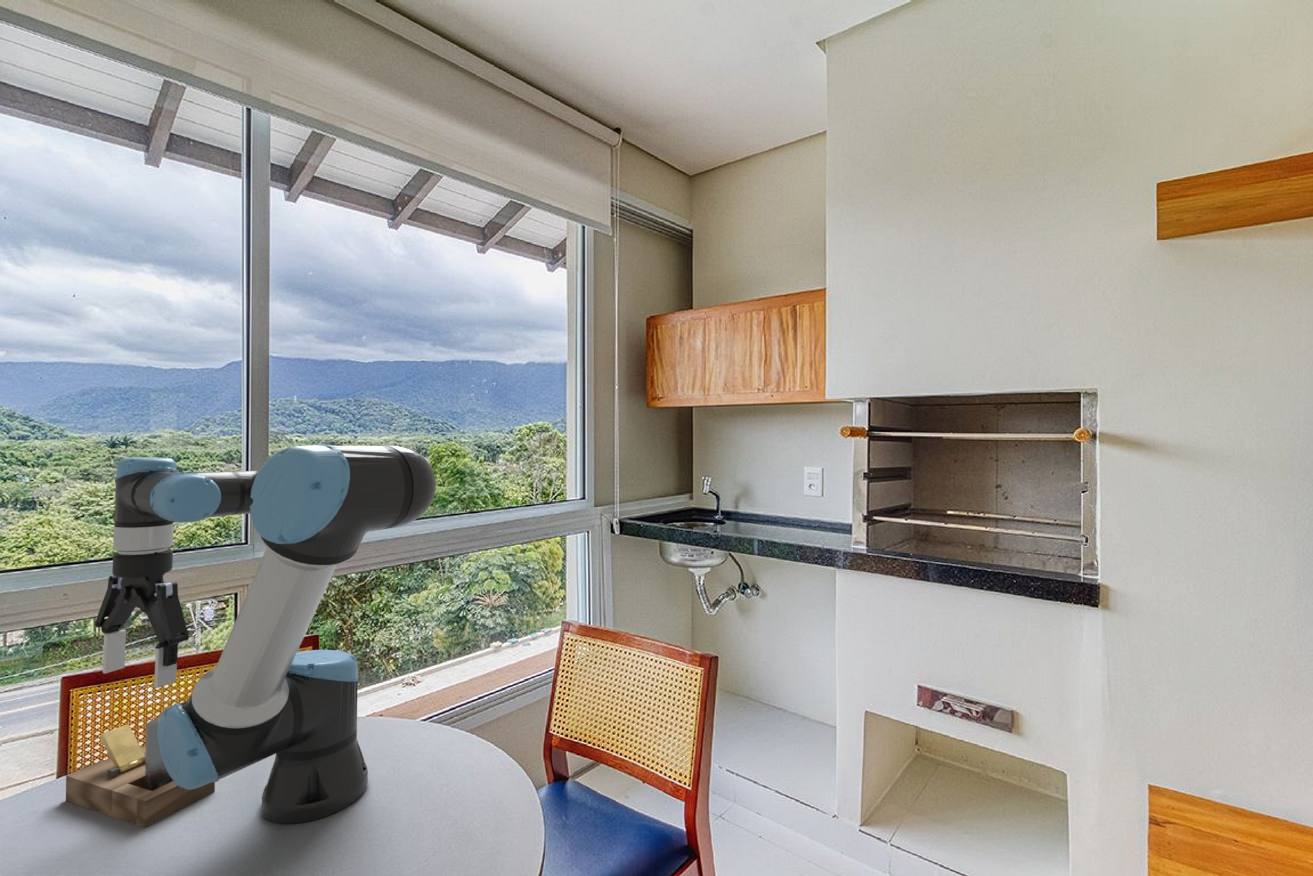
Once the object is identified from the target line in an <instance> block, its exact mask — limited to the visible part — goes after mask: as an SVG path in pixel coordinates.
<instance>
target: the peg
mask: <svg viewBox="0 0 1313 876" xmlns="http://www.w3.org/2000/svg"><path fill="white" fill-rule="evenodd" d="M158 721H159V717H157V718H154V719H152V720H150V721H148V722H147V723H146V728H145V748H146V761H145V789H147V790H150V791H154V790H156V789H158V788H160V787H162V786H164V785H166V784H168V783H170V782H172V781H173V780H172V778H171V777H170V775H169V774H168V772H167V770H166V767H165V765H164V762H163V760H162V757H161V753H160V748H159V743H158V733H157V730H158Z"/></svg>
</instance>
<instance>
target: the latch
mask: <svg viewBox="0 0 1313 876" xmlns="http://www.w3.org/2000/svg"><path fill="white" fill-rule="evenodd" d="M99 738H100V740H101V742H102V744H103V746H104V749H105V750H106V751H107V754H108V757H109V758H111V760H112V762H113V764H114V766H115V768H118V769H119V770H118V773H119V774H120V773H122V772H125V771H127V770H129V769H131V768H134V767H136V766H138V765H141V764H143V763H145V761H146V757H145V755H144V753H143V751H142V749H141V747H142V746H140V744H139V741H138V739H137V738H136V735H135V734H134V732H133V730H132V728H131V726H130V724H129V723H128V724H125V725H122V726H119V727H117V728H114V729H111V730H109V731H106V732H104V733H102V734H101V735H100V736H99Z"/></svg>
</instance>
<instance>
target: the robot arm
mask: <svg viewBox="0 0 1313 876" xmlns="http://www.w3.org/2000/svg"><path fill="white" fill-rule="evenodd" d="M115 474H116V475H115V477H114V483H115V487H114V488H115V492H114V493H115V495H114V496H115V497H114V524H113V525H114V526H113V539H112V541H113V542H112V543H113V544H112V550H114V551H116V552H115V553H114V554H113V555H112V570H111V571H112V572H111V573H112V575H110V576H108V581H107V589H106V592H105V594H104V597H103V600H102V602H101V605H100V608H99V611H98V613H97V617H96V619H95V622H94V627H96V628H100V630H101V632H102V633H103V634H104V635H103V651H102V652H103V653H102V654H103V656H102V657H103V659H102V674H109V673H112V672H115V671H118V670H122V669H125V668H126V641H127V630H126V629H125V628H128V626H127V624H126V623H127V621H128V620H129V618H130V617H131V614H132V613H134V610H135V609H136V608H137V609H139V610H140V612H141V613H144V614H146V616H147V619H148V621H149V623H150V625H151V628H152V630H153V633H154V635H155V637H156V639H157V641H158V643H157V644H156V645H155V657H154V658H155V659H154V660H155V661H154V685H153V687H154V688H156V689H159V688H161V687H165V686H167V685H170V684H173V683H177V671H178V669H177V668H178V659H179V658H178V656H179V655H178V653H179V644H180V643H182V642H186V641H188V640H189V638H190V635H189V632H188V627H187V624H186V620H185V617H184V612H183V609H182V606H181V601H180V598H179V587H178V582H177V581H171V582H165V581H164V575H165V574H166V573H169V572H171V571H172V569H173V564H174V563H173V561H174V558H173V557H174V550H172V548H170V547H172V546H173V545H174V532H175V530H176V528H175V527H174V523H178V524H179V523H181V524H182V523H197V522H200V521H203V520H205V519H207V518H216V517H217V518H218V517H226V516H227V517H228V516H229V517H230V516H235V515H248V514H249V515H250V517H251V521H252V525H253V527H254V529H255V530H256V532H257V533H258V534H259V535H258V536H259V539H260V542H262V544H263V546H264V547H265V550H264V553H263V555H262V557H261V559H260V562H259V564H258V567H257V569H256V572H255V574H254V577H253V579H252V581H251V583H250V586H249V588H248V590H247V593H246V594H245V598H244V600H243V603H242V605H241V607H240V610H239V612H238V614H237V616H236V619H235V620H234V621H235V622H234V624H233V626H232V629H231V631H230V634H229V636H228V639H227V641H226V642H225V645H224V648H223V650H222V651H221V655H220V657H219V660H218V662H217V664H216V667H213V668H211V669H210V670H208V671H207V672H205V673H204V674H203V675H202V676H201V677H200V678H198V680H197V682H196V683H195V685H194V687H193V688H192V691H191V694H190V696H189V699H187V700H186V701H183V702H176V703H174V704H173V705H171V706H169V707H167V708H165V709H163V711H162V712H161V713H160V716H159V717H158V718H159V721H158V730H157V733H158V743H159V748H160V753H161V757H162V760H163V762H164V765H165V767H166V770H167V772H168V774H169V775H170V777H171V778H172V780H173V781H174V782H175V783H176V784H177V785H178V786H180V787H181V788H185V789H189V790H191V789H196V788H199V787H201V786H204V785H206V784H209V783H211V782H215V783H217V782H219V780H221V779H223V778H225V777H228V776H230V775H232V774H235V773H237V772H239V771H241V770H244V769H246V768H248V767H250V766H251V765H252V766H253V765H254V764H256V763H258V762H260V761H263V760H266V759H267V758H269V757H271V756H273V755H275V757H274V761H273V765H272V767H271V769H270V774H269V777H268V780H267V783H266V785H265V787H264V789H263V792H262V795H261V813H262V816H263V817H264V818H266V820H268V821H271V822H273V823H279V824H297V823H299V824H300V823H307V822H311V821H315V820H318V819H321V818H324V817H329V816H330V815H333V814H335V813H337V812H339V811H341V810H344V809H345V808H347V807H348V806H350V805H351V804H353V803H354V802H356V801H357V800H358V799H359V798H361V796H362V795H363V794H364V792H365V791H366V789H367V788H368V783H369V779H368V778H369V773H368V772H369V771H368V766H367V764H366V761H365V758H364V755H363V752H362V749H361V747H360V744H359V741H358V733H357V732H358V686H359V685H358V682H359V680H360V677H359V673H358V672H359V669H358V660H357V659H356V657H355V656H354V655H353V654H351V653H349V652H346V651H343V650H337V649H336V650H334V649H313V650H302V651H298V650H300V646H301V645H302V642H303V640H304V638H305V636H306V633H307V632H308V629H309V627H310V625H311V623H312V620H313V618H314V616H315V614H316V611H317V610H318V607H319V605H320V603H321V600H322V599H323V596H324V594H325V592H326V590H327V588H328V586H329V583H330V581H331V579H332V576H333V574H334V572H335V571H336V569H337V567H338V566H340V565H343V564H345V563H347V562H349V561H350V560H352V559H353V558H354V556H355V555H356V553H357V551H358V549H359V547H360V546H361V543H362V541H363V538H364V537H365V535H366V534H367V533H368V532H374V531H375V532H376V531H381V530H388V529H394V528H398V527H402V526H406V525H409V524H410V523H412V522H414V521H416V520H417V519H419V518H420V517H421V516H422V515H424V513H426V511H428V510H429V508H430V506H431V505H432V503H433V501H434V498H435V495H436V491H437V480H436V476H435V472H434V471H433V468H432V466H431V465H430V463H429V462H428V461H427V460H426V458H424V456H422V455H421V454H420V453H418V452H416V451H414V450H411V449H409V448H407V447H406V448H405V447H403V446H397V445H331V444H326V443H314V444H308V445H299V446H298V445H296V446H295V445H294V446H290V447H287V448H283V449H281V450H279V451H277V452H275V453H274V454H272V455H271V456H270V457H269V458H268V459H267V460H266V461H265V462H264V463H263V465H262V467H260V469H259V470H243V471H240V470H239V471H205V472H202V471H200V472H197V471H196V472H178V470H177V462H176V461H175V460H174V459H173V458H170V457H149V456H148V457H147V456H146V457H144V456H143V457H125V458H122V459H119V461H118V462H117V466H116V473H115Z"/></svg>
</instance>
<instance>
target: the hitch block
mask: <svg viewBox="0 0 1313 876" xmlns="http://www.w3.org/2000/svg"><path fill="white" fill-rule="evenodd" d="M140 747H141V749H142V751H143V753H144V755H145V757H146V747H143V746H140ZM118 770H119V769H118V768H115V766H114V764H113V762H112V760H111V758H110V757H109V758H106V759H104V760H101V761H99V762H97V763H94V764H92V765H88V766H87V767H83V768H82V769H79V770H77V771H75V772H72V773H70V774H67V775H65V776H66V778H65V802H69V803H72V804H73V805H74V804H75V805H77V806H80V807H83V808H86V809H89V810H92V811H95V812H98V813H101V814H104V815H106V816H110V817H111V818H115V819H118V820H120V821H123V822H126V823H129V824H132V825H134V826H138V827H141V828H148V827H149V826H152V825H153V824H156V823H157V822H159V821H161V820H163V819H165V818H167V817H169V816H170V815H172V814H174V813H176V812H178V811H180V810H182V809H183V808H185V807H188V806H190V805H192V804H194V803H195V802H197V801H199V800H201V799H203V798H205V797H206V796H209V795H210V794H213V793H214V792H215V791H216V782H211V783H209V784H206V785H204V786H201V787H199V788H196V789H191V790H189V789H185V788H181V787H180V786H178V785H177V784H176V783H175V782H174V781H172V782H170V783H168V784H166V785H164V786H162V787H160V788H158V789H156V790H154V791H150V790H147V789H145V763H143V764H141V765H138V766H136V767H134V768H131V769H129V770H127V771H125V772H122V773H120V774H119V773H118Z"/></svg>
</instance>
